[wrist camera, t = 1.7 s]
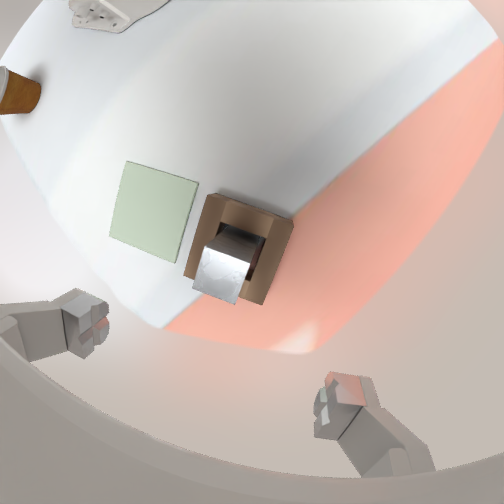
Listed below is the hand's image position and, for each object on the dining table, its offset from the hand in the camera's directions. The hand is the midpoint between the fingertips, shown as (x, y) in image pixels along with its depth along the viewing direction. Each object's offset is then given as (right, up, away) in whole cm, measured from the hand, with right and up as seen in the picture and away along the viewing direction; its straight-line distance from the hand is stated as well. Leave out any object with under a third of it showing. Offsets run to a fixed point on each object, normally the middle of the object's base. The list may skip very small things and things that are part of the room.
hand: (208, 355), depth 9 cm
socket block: (0, +4, +26) cm, 26 cm away
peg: (0, +4, +26) cm, 26 cm away
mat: (-12, +9, +26) cm, 30 cm away
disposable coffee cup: (-41, +33, +23) cm, 57 cm away
